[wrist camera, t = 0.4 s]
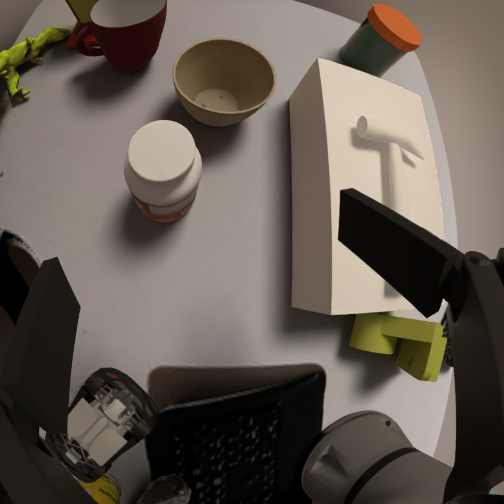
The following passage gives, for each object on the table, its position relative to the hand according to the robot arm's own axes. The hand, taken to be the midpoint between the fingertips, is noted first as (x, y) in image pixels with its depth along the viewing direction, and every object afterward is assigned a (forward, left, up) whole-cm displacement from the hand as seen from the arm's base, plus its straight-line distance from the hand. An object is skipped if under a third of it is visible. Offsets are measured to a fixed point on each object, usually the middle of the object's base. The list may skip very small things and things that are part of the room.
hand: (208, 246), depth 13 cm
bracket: (-16, -23, -11) cm, 30 cm away
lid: (+25, -31, -6) cm, 41 cm away
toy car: (-13, +15, -13) cm, 24 cm away
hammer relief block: (+3, -19, -17) cm, 26 cm away
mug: (+26, +4, -17) cm, 32 cm away
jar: (+25, -31, -17) cm, 44 cm away
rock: (-30, +11, -12) cm, 34 cm away
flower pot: (+17, -6, -17) cm, 25 cm away
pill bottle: (+8, +1, -17) cm, 19 cm away
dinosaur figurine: (+25, +21, -17) cm, 37 cm away
